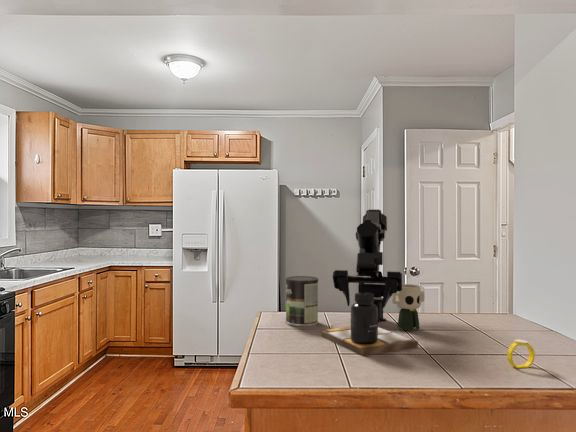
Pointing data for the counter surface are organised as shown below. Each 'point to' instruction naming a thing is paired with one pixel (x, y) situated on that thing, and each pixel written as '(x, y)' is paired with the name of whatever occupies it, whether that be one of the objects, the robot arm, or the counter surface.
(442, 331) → the counter surface
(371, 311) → the supplement bottle
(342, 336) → the wooden tray
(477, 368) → the counter surface
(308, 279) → the coffee can
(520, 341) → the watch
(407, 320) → the character mug
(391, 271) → the robot arm
